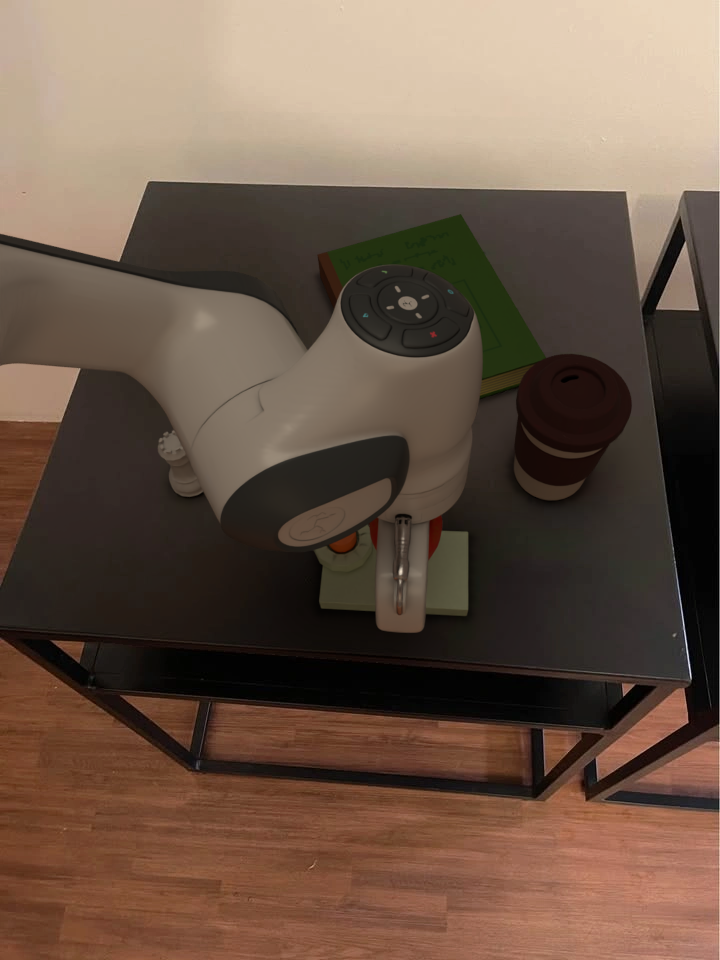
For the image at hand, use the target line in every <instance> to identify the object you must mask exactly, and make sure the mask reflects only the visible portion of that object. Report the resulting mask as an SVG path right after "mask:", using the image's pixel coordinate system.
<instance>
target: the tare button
mask: <svg viewBox="0 0 720 960" xmlns="http://www.w3.org/2000/svg"><path fill="white" fill-rule="evenodd" d="M356 541H357V537H356V532H355V533H353V534H351V535H349V536H347V537H345V538H343V539H341V540H339V541H337V542H334V543H332V544H330V545H329V546H330V548H331V549H332V550H334V551H336V552H339V553H344V552H348V551H350V550H351V549H352V548H353V547H354V546H355V544H356Z"/></svg>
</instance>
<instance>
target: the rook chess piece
mask: <svg viewBox="0 0 720 960" xmlns="http://www.w3.org/2000/svg"><path fill="white" fill-rule="evenodd" d="M162 435H163V437H160V438H159V439H158V445H157V452H158V455H159V456H160V457H161V458H162V459H164V460H165V462H166V463H167V464H168V465H169V466H170V469H169V472H168V480H169V484H170V486H171V488H172V490H173V491H174V492H175V494H178V495H179V496H181V497H187V498H188V497H189V498H190V497H195V496H198V495H200V494H202V493H204V492H203V490H202V488H201V486H200V484H199V481H198V479H197V476H195V474H194V470H193V468H192V466H191V464H190V461H189V459H188V457H187V455H186V453H185V451H184V449H183V447H182V445H181V443H180V441H179V439H178V437H177V435H176V433H175V431H174V429H172V430H171V433H169V432H168V431H165V432H164V433H163V434H162Z"/></svg>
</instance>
